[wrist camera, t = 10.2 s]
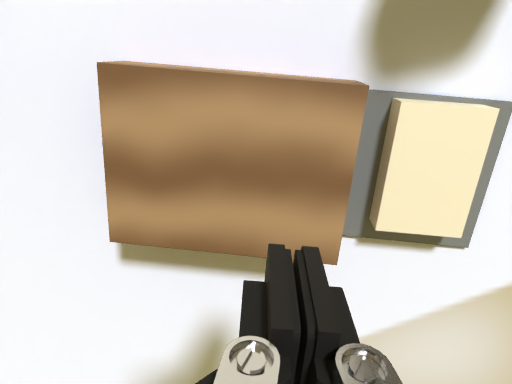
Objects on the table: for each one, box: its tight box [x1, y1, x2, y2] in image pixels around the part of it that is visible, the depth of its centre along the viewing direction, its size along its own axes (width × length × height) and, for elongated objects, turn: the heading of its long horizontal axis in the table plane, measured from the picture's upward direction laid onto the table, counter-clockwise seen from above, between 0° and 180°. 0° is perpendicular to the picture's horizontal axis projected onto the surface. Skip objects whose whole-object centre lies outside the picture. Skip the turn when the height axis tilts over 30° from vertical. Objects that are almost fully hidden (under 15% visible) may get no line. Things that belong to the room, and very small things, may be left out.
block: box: [369, 98, 500, 238], centre depth 25 cm, size 9×6×2 cm, turn 176°
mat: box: [342, 90, 512, 248], centre depth 27 cm, size 11×10×1 cm
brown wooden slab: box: [97, 61, 369, 265], centre depth 26 cm, size 12×16×4 cm
